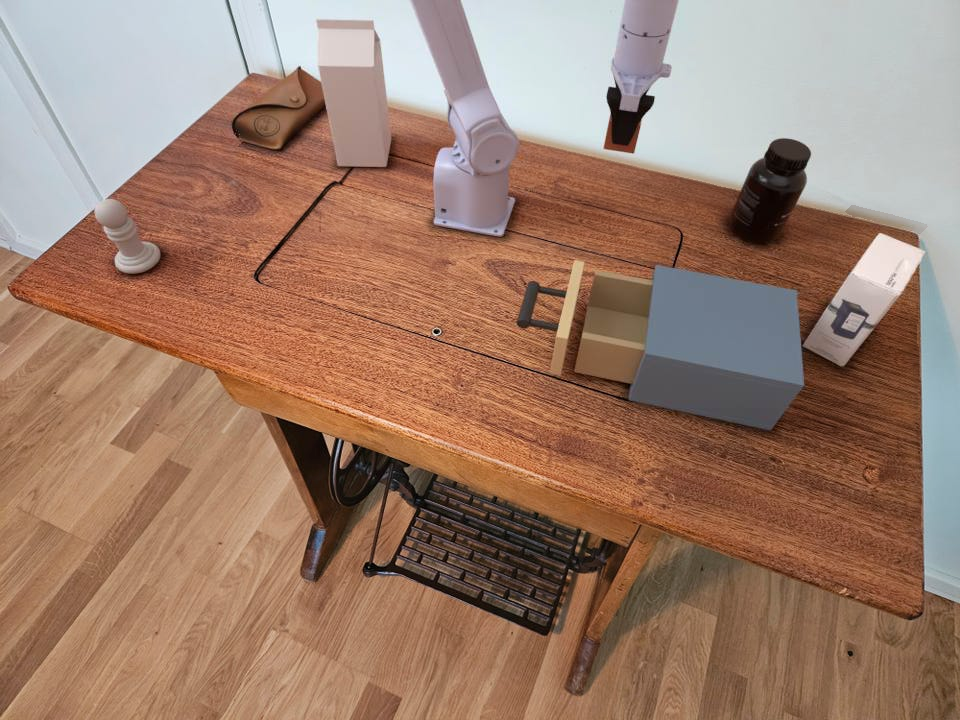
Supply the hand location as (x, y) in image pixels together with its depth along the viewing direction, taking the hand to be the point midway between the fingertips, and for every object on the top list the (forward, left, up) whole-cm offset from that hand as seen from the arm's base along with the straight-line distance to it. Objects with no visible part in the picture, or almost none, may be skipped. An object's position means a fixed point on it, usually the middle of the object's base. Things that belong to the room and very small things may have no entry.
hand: (622, 133), depth 81 cm
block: (0, 0, -1) cm, 1 cm away
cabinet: (+14, -29, -9) cm, 33 cm away
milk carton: (-36, -1, -9) cm, 37 cm away
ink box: (+29, -20, -9) cm, 36 cm away
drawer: (+2, -29, -8) cm, 30 cm away
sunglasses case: (-51, +5, -9) cm, 52 cm away
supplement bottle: (+20, -3, -9) cm, 22 cm away
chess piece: (-55, -30, -9) cm, 64 cm away
